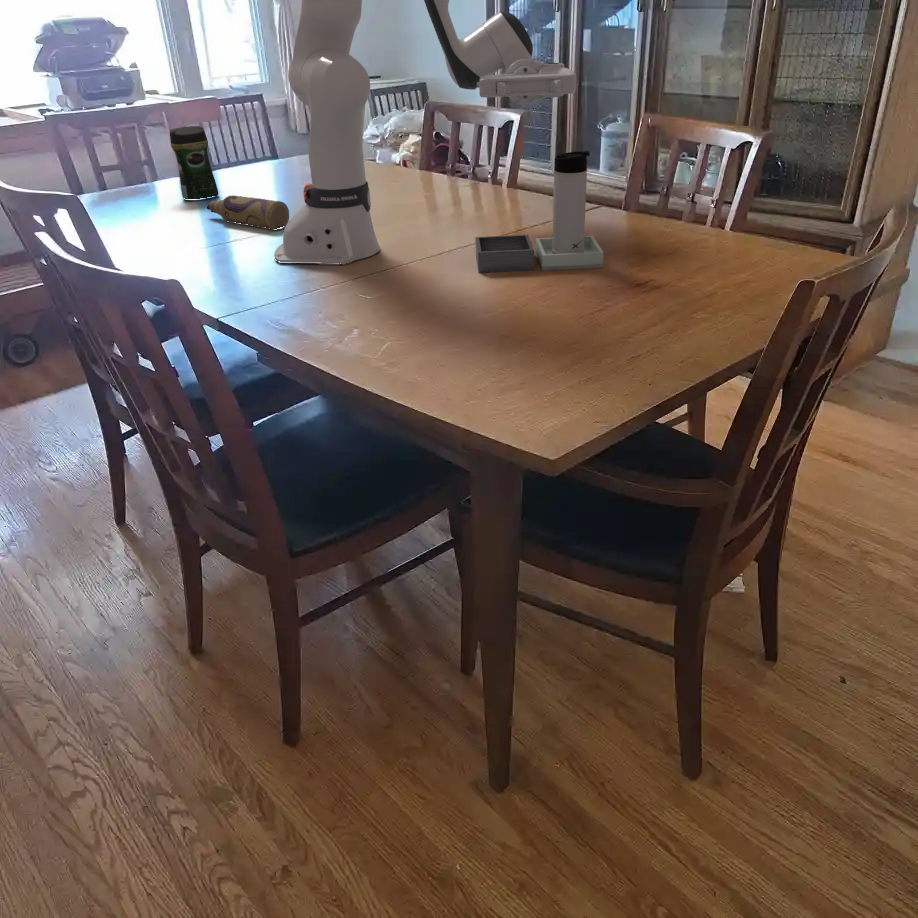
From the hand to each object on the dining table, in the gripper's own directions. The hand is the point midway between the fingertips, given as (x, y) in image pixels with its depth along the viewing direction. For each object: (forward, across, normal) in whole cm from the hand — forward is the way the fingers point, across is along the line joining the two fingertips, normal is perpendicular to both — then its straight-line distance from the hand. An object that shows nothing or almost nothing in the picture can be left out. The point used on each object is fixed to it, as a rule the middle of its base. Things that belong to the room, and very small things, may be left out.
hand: (530, 89), depth 160 cm
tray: (+17, +6, +30) cm, 35 cm away
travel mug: (+17, +6, +29) cm, 34 cm away
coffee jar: (-54, -86, +30) cm, 106 cm away
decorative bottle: (-25, -66, +30) cm, 77 cm away
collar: (+17, -7, +30) cm, 35 cm away
